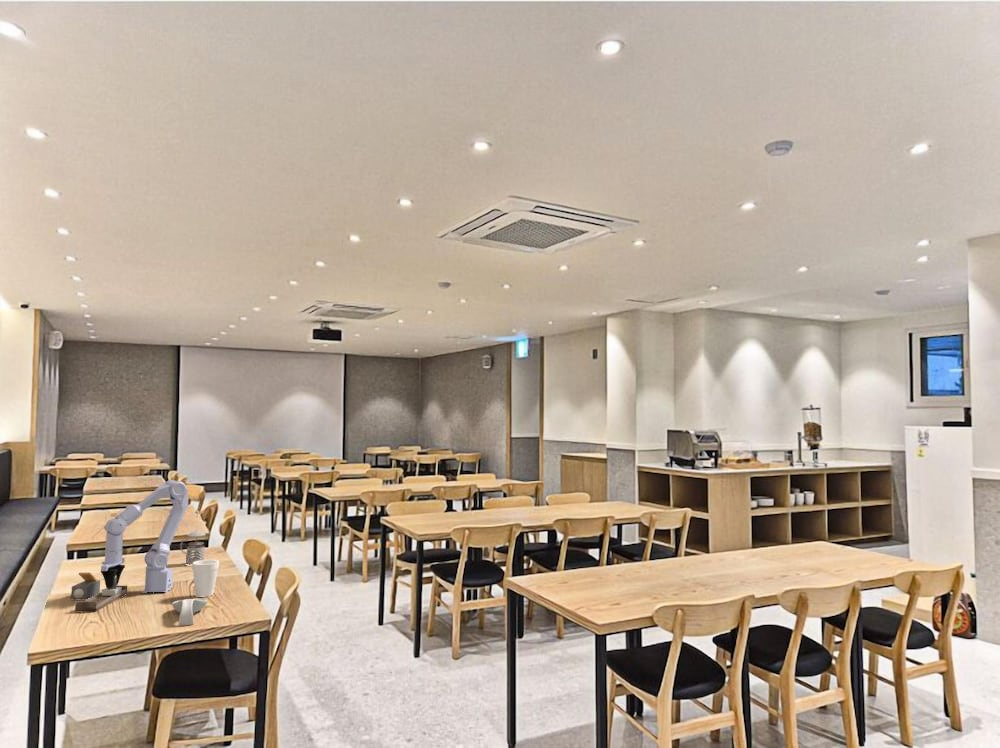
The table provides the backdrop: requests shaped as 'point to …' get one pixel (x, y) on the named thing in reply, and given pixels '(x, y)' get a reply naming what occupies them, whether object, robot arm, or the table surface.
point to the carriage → (112, 589)
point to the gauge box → (85, 589)
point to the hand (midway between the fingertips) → (112, 586)
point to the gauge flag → (87, 576)
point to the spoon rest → (188, 609)
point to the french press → (192, 546)
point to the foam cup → (205, 576)
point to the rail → (99, 601)
